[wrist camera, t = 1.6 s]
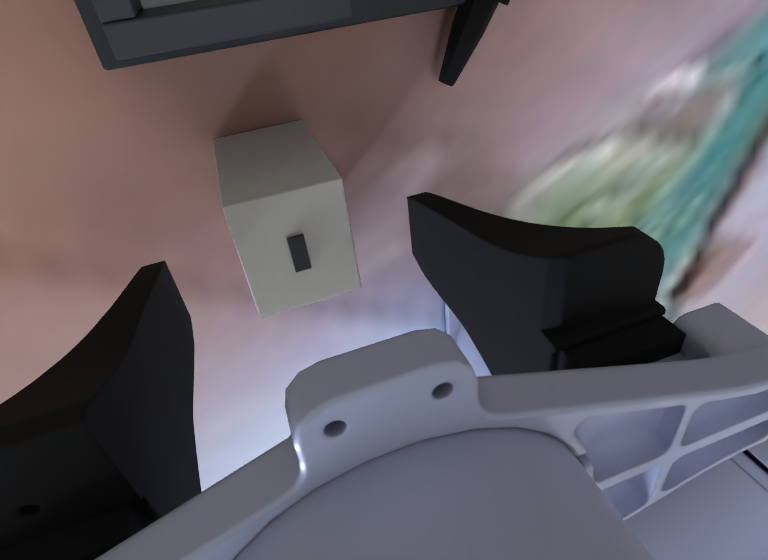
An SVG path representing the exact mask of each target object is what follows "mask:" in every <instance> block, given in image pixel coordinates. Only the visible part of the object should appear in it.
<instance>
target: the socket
mask: <svg viewBox="0 0 768 560" xmlns="http://www.w3.org/2000/svg"><path fill="white" fill-rule="evenodd" d="M92 2H93V5H94V7H95V10H96V12H97V15H98V17H99V19H100V21H101V22H104V24H103V29H104V32H105V34H106V36H107V39H108V41H109V44H110V46H111V49H112V51H113V54H114V56H115V58H116V59H117V60H125V59H130V58H136V57H141V56H147V55H152V54H158V53H163V52H169V51H174V50H180V49H185V48H191V47H196V46H202V45H207V44H213V43H218V42H224V41H229V40H235V39H240V38H246V37H251V36H257V35H262V34H268V33H273V32H279V31H284V30H290V29H295V28H301V27H306V26H312V25H317V24H323V23H328V22H334V21H339V20H345V19H350V18H353V17H354V10H353V3H352V0H92Z"/></svg>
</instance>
